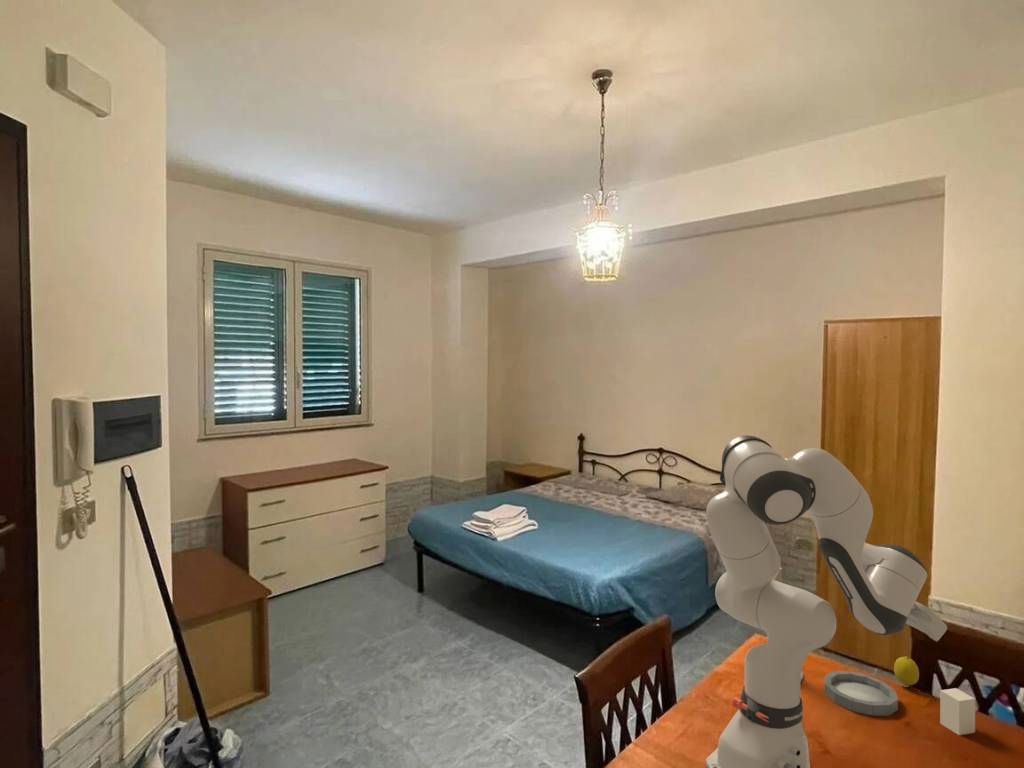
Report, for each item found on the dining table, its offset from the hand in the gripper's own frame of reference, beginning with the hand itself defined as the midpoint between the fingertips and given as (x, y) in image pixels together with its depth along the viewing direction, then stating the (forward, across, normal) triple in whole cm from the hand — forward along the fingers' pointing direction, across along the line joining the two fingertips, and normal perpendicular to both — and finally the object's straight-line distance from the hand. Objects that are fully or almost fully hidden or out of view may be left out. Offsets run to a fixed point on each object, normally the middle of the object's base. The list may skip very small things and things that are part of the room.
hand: (917, 628), depth 130 cm
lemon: (+29, +18, +8) cm, 35 cm away
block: (+26, 0, +10) cm, 28 cm away
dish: (+17, +16, +19) cm, 30 cm away
